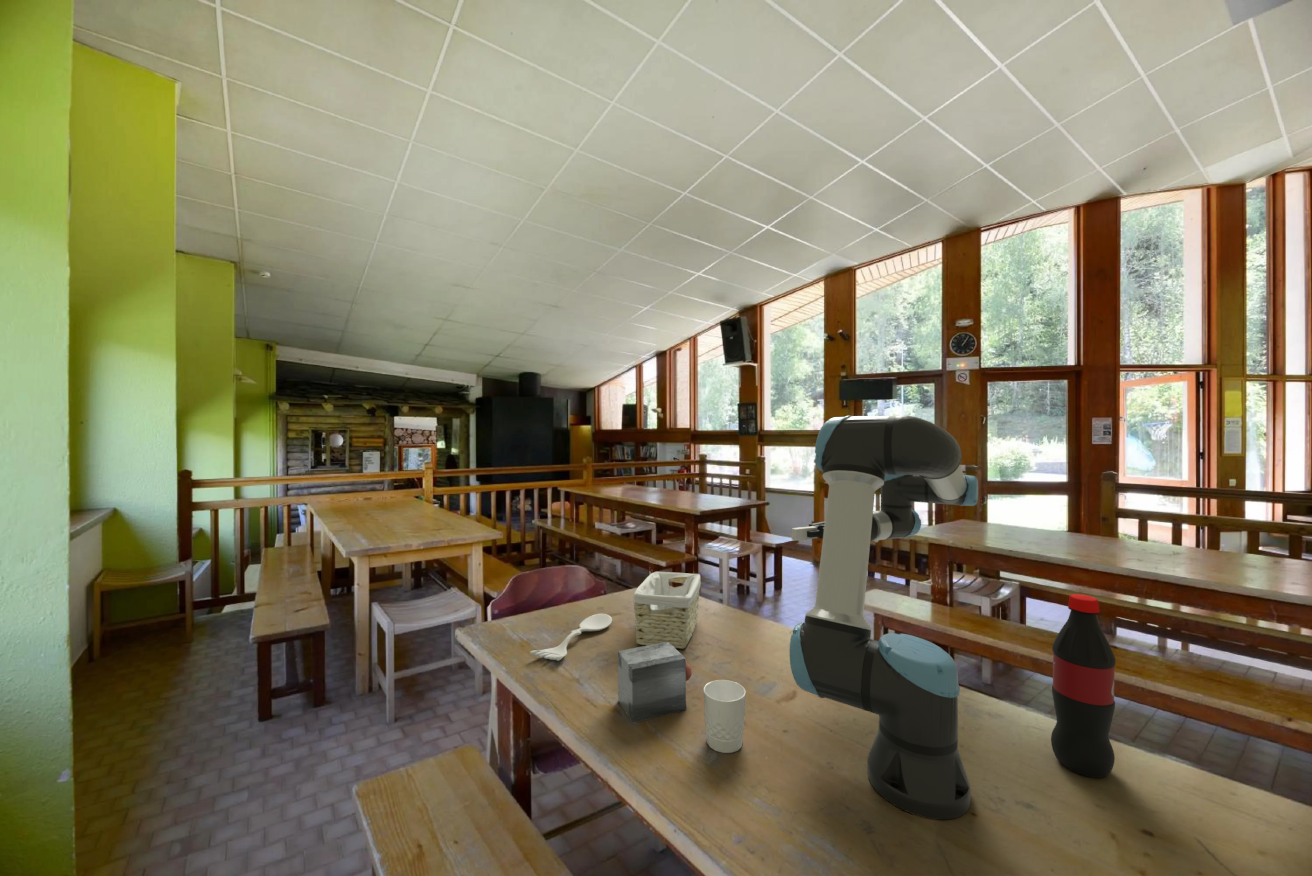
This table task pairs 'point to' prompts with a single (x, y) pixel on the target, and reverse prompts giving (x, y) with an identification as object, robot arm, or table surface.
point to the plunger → (688, 672)
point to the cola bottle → (1083, 691)
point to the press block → (651, 681)
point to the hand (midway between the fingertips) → (793, 534)
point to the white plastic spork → (587, 624)
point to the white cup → (724, 715)
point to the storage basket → (666, 609)
